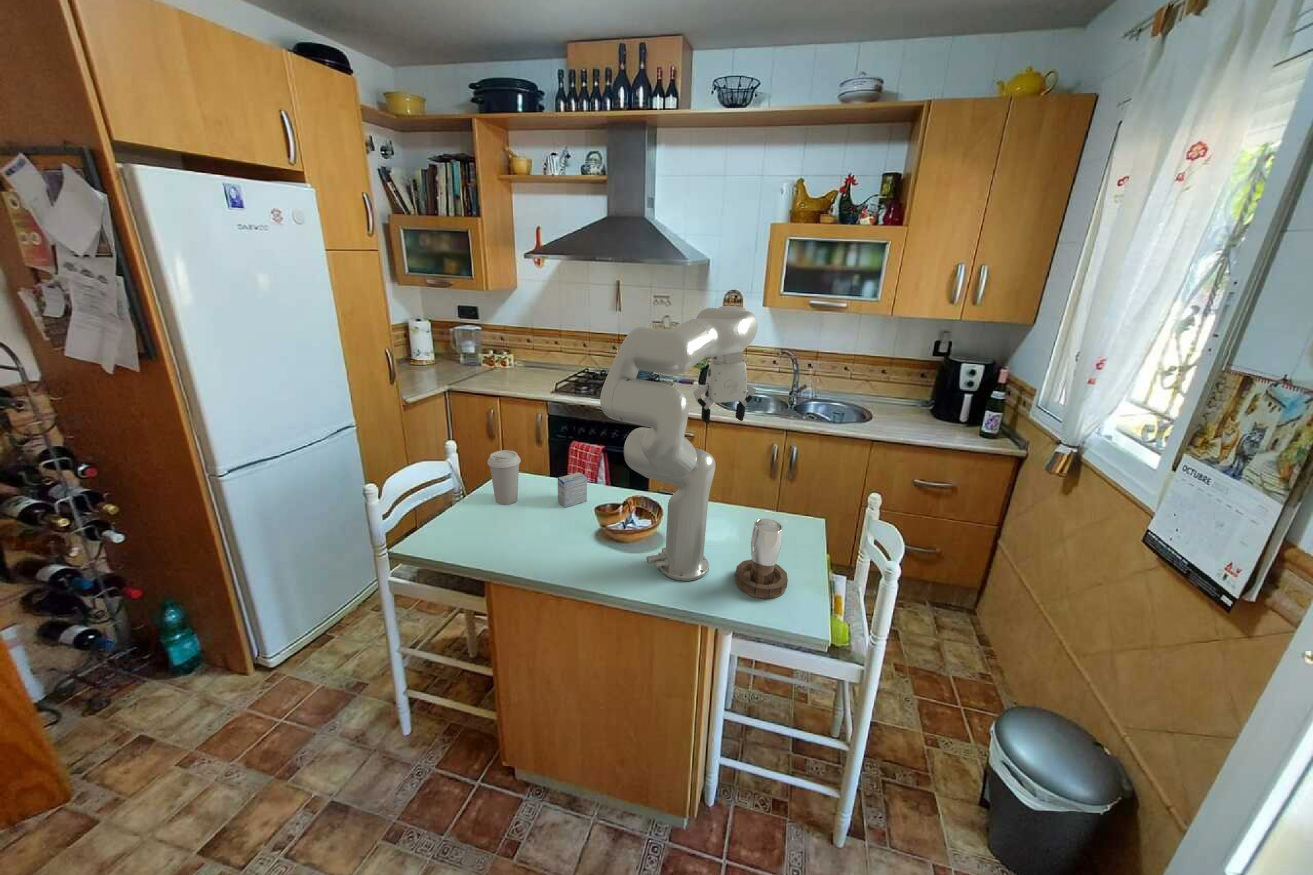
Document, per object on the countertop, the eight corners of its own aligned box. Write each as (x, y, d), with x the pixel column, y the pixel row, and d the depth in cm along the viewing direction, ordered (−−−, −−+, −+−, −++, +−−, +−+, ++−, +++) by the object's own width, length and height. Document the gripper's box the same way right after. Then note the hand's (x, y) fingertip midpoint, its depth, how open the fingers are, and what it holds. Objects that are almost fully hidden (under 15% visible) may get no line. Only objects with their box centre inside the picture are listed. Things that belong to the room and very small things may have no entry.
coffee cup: (484, 500, 158) (480, 454, 153) (510, 490, 165) (508, 446, 160) (502, 510, 153) (499, 463, 148) (528, 500, 160) (526, 455, 155)
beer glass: (775, 591, 120) (784, 534, 115) (745, 586, 122) (752, 530, 117) (775, 574, 127) (783, 520, 122) (747, 569, 128) (753, 516, 123)
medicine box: (579, 496, 164) (579, 471, 161) (587, 501, 160) (587, 476, 157) (557, 503, 159) (556, 477, 156) (564, 508, 156) (564, 482, 153)
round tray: (751, 603, 117) (753, 593, 116) (726, 573, 127) (727, 563, 127) (796, 593, 121) (797, 583, 120) (768, 565, 132) (769, 555, 131)
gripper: (702, 361, 124) (697, 428, 130) (765, 358, 129) (758, 423, 135) (690, 354, 131) (686, 418, 137) (751, 352, 136) (745, 414, 142)
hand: (722, 420), depth 136 cm, fingers open, 9 cm apart
